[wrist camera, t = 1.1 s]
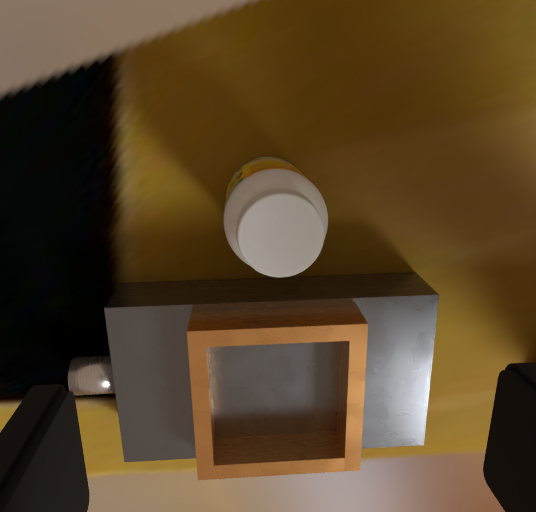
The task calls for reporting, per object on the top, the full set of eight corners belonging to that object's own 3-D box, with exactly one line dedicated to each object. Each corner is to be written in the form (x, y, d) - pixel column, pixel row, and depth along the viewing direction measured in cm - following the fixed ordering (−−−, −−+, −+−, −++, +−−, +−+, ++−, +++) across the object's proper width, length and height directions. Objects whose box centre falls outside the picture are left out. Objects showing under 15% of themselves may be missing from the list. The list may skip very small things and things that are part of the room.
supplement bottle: (303, 241, 32) (331, 297, 23) (222, 234, 31) (217, 289, 22) (314, 158, 30) (348, 183, 21) (228, 150, 30) (225, 173, 20)
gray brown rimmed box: (415, 272, 33) (457, 311, 27) (404, 408, 36) (438, 472, 30) (73, 285, 32) (34, 329, 25) (95, 425, 35) (64, 494, 29)
